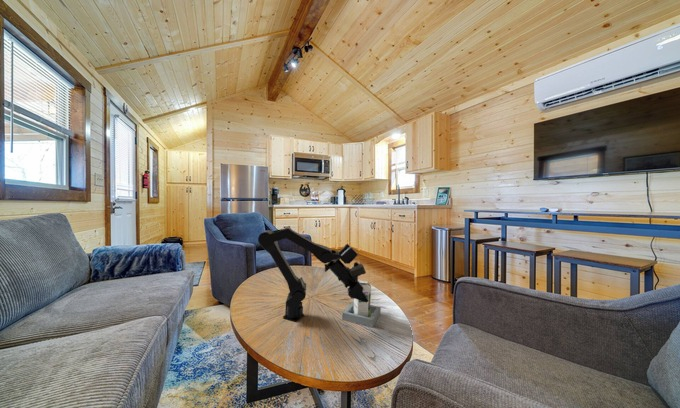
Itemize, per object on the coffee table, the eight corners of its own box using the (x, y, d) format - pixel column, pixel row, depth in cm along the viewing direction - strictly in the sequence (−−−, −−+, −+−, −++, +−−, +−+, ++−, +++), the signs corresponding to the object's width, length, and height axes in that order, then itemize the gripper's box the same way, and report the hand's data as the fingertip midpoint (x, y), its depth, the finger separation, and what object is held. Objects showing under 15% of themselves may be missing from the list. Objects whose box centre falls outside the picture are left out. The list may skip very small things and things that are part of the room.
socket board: (342, 319, 102) (342, 312, 102) (353, 307, 114) (353, 301, 114) (372, 327, 97) (372, 320, 97) (380, 313, 109) (380, 307, 109)
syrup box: (356, 320, 102) (358, 286, 101) (352, 313, 108) (354, 281, 107) (369, 319, 103) (371, 285, 103) (365, 313, 109) (366, 280, 109)
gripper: (358, 264, 95) (384, 292, 96) (351, 253, 114) (374, 277, 115) (337, 284, 95) (364, 312, 96) (334, 269, 113) (356, 293, 115)
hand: (365, 297), depth 105 cm, fingers open, 9 cm apart
